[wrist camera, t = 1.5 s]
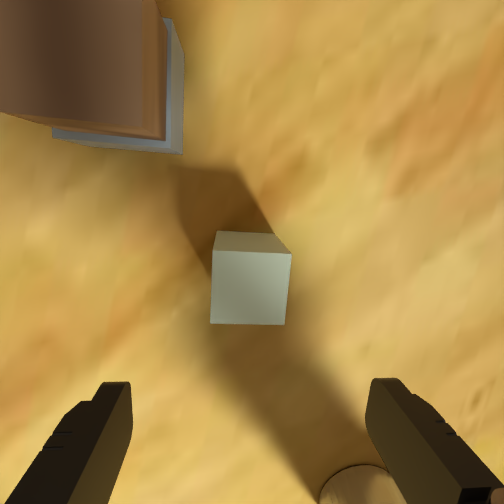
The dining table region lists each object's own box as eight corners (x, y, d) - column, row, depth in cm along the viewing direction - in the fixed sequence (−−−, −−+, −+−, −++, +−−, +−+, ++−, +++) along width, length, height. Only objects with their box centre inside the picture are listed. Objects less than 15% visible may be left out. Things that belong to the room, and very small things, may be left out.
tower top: (167, 30, 16) (141, -33, 11) (165, 141, 18) (142, 126, 13) (56, 14, 16) (-20, -58, 11) (64, 130, 17) (0, 111, 12)
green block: (274, 233, 25) (291, 254, 18) (269, 286, 26) (284, 325, 19) (216, 230, 24) (212, 250, 18) (214, 285, 26) (210, 323, 19)
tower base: (184, 55, 21) (171, 18, 16) (182, 154, 23) (170, 148, 18) (85, 43, 20) (40, 1, 15) (91, 146, 22) (52, 137, 17)
